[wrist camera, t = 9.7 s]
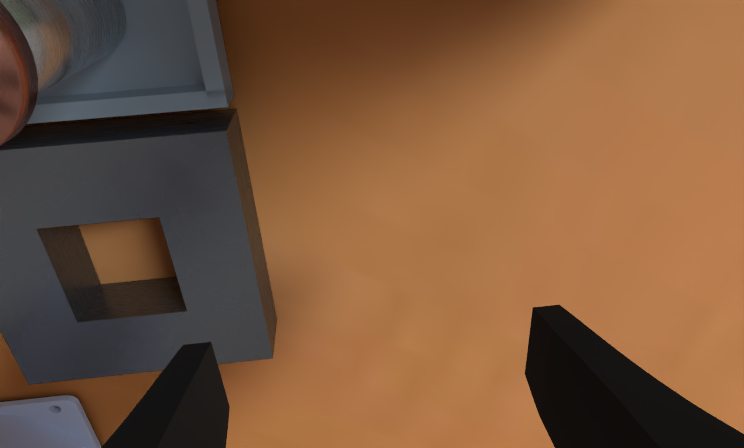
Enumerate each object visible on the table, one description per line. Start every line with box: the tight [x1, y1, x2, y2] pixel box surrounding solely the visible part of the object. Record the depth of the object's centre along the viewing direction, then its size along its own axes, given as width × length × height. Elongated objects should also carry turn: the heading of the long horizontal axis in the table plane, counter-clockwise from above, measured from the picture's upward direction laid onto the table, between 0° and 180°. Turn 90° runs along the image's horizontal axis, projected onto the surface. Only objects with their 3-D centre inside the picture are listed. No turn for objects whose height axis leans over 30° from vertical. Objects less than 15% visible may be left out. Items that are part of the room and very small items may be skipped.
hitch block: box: [0, 109, 277, 385], centre depth 20 cm, size 10×10×2 cm
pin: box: [0, 0, 126, 146], centre depth 13 cm, size 4×4×8 cm
